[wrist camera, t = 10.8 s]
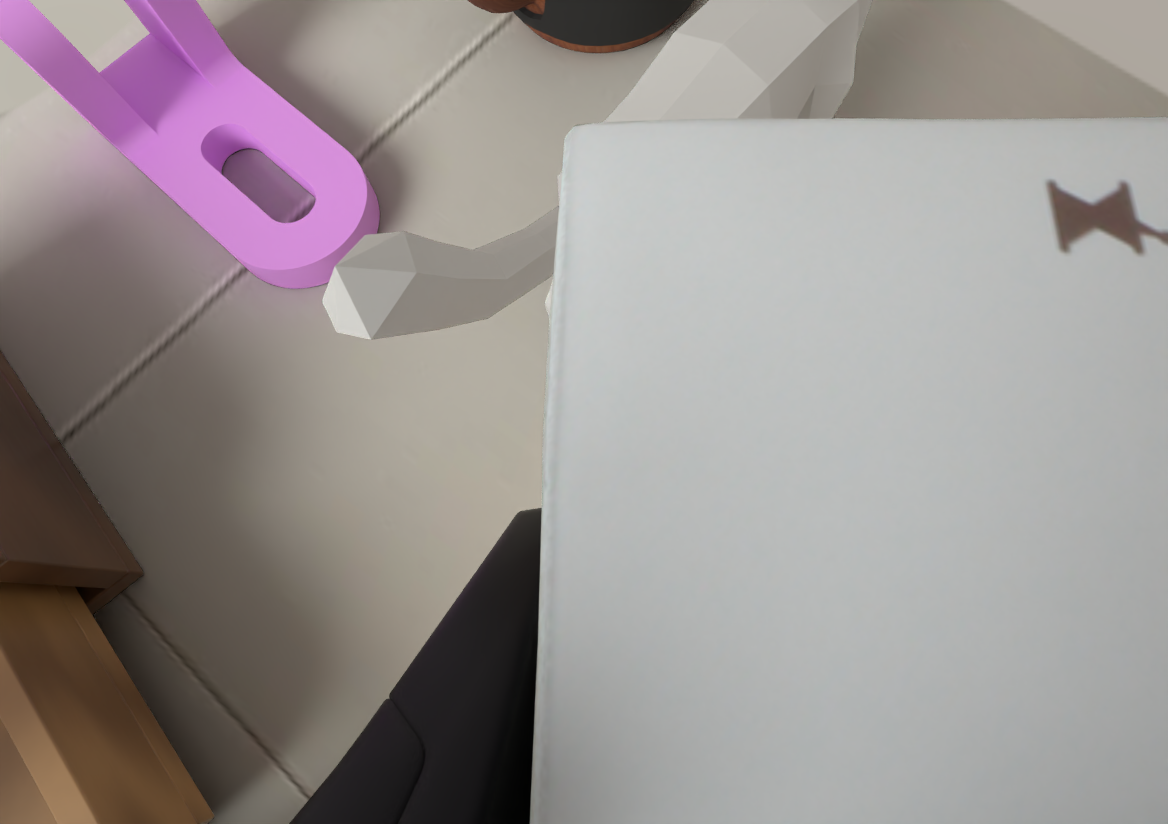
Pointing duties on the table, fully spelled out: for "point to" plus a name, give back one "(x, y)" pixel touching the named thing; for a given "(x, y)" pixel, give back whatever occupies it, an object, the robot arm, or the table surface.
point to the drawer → (79, 723)
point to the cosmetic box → (856, 474)
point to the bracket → (207, 135)
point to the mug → (593, 20)
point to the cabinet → (52, 509)
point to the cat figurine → (665, 92)
